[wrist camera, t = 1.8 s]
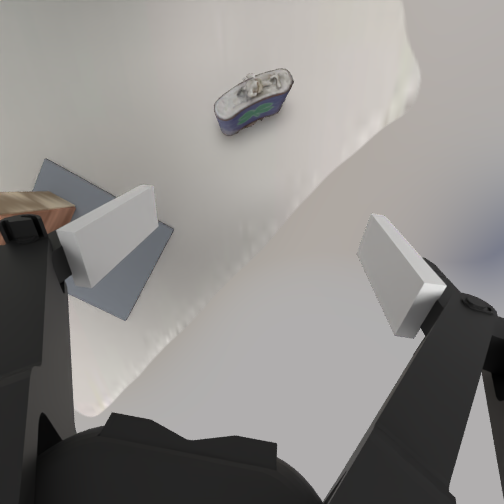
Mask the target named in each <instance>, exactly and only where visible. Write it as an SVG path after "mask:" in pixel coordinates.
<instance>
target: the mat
mask: <svg viewBox="0 0 504 504" xmlns="http://www.w3.org/2000/svg"><path fill="white" fill-rule="evenodd" d="M36 191H49V192H51V193H53V194H55V195H57V196H59V197H61V198H63V199H64V200H66V201H68V202H70V203H72V204H74V205H75V207H76V209H75V211H74V214H73V216H72V218H71V221H73V220H75V219H77V218H79V217H81V216H83V215H85V214H87V213H89V212H91V211H93V210H94V209H96V208H98V207H100V206H102V205H104V204H106V203H108V202H109V201H111V200H113V199H115V198H117V197H115V196H113V195H111V194H109V193H108V192H106V191H104V190H102V189H100V188H99V187H97V186H95V185H93V184H91V183H90V182H88V181H86V180H84V179H82V178H81V177H79V176H77V175H75V174H73V173H72V172H70V171H68V170H66V169H64V168H63V167H61V166H59V165H57V164H55V163H54V162H52V161H50V160H48V159H44V162H43V165H42V167H41V170H40V173H39V175H38V178H37V181H36V183H35V186H34V189H33V191H32V192H36ZM71 221H70V222H71ZM173 230H174V229H173V228H171V227H169V226H167V225H165V224H164V223H162V222H160V221H158V227H157V228H156V229H155V230H154V231H153V232H152V233H151V234H150V235H149V236H148V237H146V238H145V239H144V240H143V241H142V242H141V243H140V244H139V245H138V246H137V247H136V248H135V249H134V250H132V251H131V252H130V253H129V254H128V255H127V256H126V257H125V258H124V259H123V260H122V261H121V262H120V263H118V264H117V265H116V266H115V267H114V268H113V269H112V270H111V271H110V272H109V273H108V274H107V275H106V276H104V277H103V278H102V279H101V280H100V281H99V282H98V283H97V284H96V285H95V286H94V287H93V288H87V287H80V286H75V283H74V280H73V277H72V275H71V276H69V277H68V278H67V279H66V280H65V282H66V285H67V290H68V294H70V295H72V296H74V297H76V298H78V299H80V300H82V301H84V302H87V303H89V304H91V305H93V306H95V307H97V308H99V309H101V310H103V311H105V312H108V313H110V314H112V315H114V316H116V317H118V318H120V319H122V320H124V321H126V320H127V318H128V316H129V314H130V312H131V310H132V308H133V307H134V305H135V303H136V301H137V299H138V297H139V295H140V293H141V291H142V289H143V287H144V286H145V284H146V282H147V280H148V278H149V276H150V274H151V272H152V270H153V268H154V267H155V265H156V263H157V261H158V259H159V257H160V255H161V253H162V251H163V249H164V248H165V246H166V244H167V242H168V240H169V238H170V236H171V234H172V232H173Z"/></svg>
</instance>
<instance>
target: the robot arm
mask: <svg viewBox="0 0 504 504" xmlns="http://www.w3.org/2000/svg"><path fill="white" fill-rule="evenodd" d="M157 227H158V218H157V209H156V200H155V192H154V186H152V185H144V184H141V185H139V186H137V187H136V188H134V189H132V190H130V191H128V192H126V193H124V194H123V195H121V196H119V197H117V198H115V199H113V200H111V201H109V202H108V203H106V204H104V205H102V206H100V207H98V208H96V209H94V210H93V211H91V212H89V213H87V214H85V215H83V216H81V217H79V218H77V219H75V220H73V221H71V222H69V223H67V224H66V225H64V226H62V227H60V228H58V229H56V230H54V231H52V232H50V233H49V234H47V231H46V229H45V226H44V223H43V221H42V218H41V216H39V215H35V214H21V215H15V216H11V217H7V218H4V219H2V220H0V232H1V235H2V237H3V239H4V241H5V243H6V244H5V245H0V504H456V499H455V497H454V496H453V495H452V494H451V493H450V492H449V484H450V480H451V477H452V473H453V470H454V466H455V463H456V459H457V456H458V452H459V449H460V445H461V441H462V438H463V435H464V431H465V428H466V424H467V420H468V417H469V413H470V410H471V406H472V403H473V400H474V396H475V393H476V389H477V386H478V382H479V379H480V375H481V372H482V376H483V382H484V388H485V393H486V399H487V405H488V411H489V416H490V422H491V428H492V434H493V440H494V445H495V451H496V457H497V463H498V468H499V474H500V480H501V486H502V491H503V497H504V318H501V317H498V316H497V312H496V311H495V309H494V308H493V307H492V306H491V305H489V304H488V303H486V302H485V301H483V300H481V299H479V298H477V297H475V296H472V295H469V294H465V293H461V292H460V291H459V290H458V289H457V288H456V287H455V286H454V285H453V284H452V283H451V281H450V280H449V279H448V278H446V276H445V275H444V274H443V273H442V272H441V271H440V270H439V269H438V267H437V266H436V265H435V264H433V263H432V262H430V261H429V260H427V259H426V258H422V257H421V256H420V255H419V254H418V253H417V251H416V250H415V249H414V248H413V247H412V246H411V245H410V244H409V243H408V241H407V240H406V239H405V238H404V237H403V236H402V234H401V233H400V232H399V231H398V230H397V229H396V228H395V227H394V225H393V224H392V223H391V222H390V221H389V220H388V219H387V217H386V216H385V215H379V214H371V215H370V218H369V220H368V223H367V226H366V229H365V232H364V235H363V237H362V240H361V243H360V246H359V249H358V251H357V256H358V258H359V260H360V262H361V264H362V266H363V268H364V271H365V273H366V275H367V277H368V279H369V281H370V284H371V286H372V288H373V290H374V292H375V294H376V296H377V298H378V301H379V303H380V305H381V307H382V309H383V312H384V314H385V316H386V318H387V320H388V322H389V324H390V327H391V329H392V331H393V333H394V335H395V336H400V337H406V338H413V339H414V337H415V336H416V334H417V332H418V331H419V330H420V328H421V329H422V331H423V333H424V334H425V338H424V339H423V341H422V342H421V344H420V345H419V347H418V348H417V350H416V351H415V353H414V354H413V357H412V358H411V360H410V362H409V363H408V365H407V367H406V368H405V370H404V371H403V373H402V375H401V376H400V378H399V380H398V381H397V383H396V384H395V386H394V388H393V389H392V391H391V393H390V394H389V396H388V398H387V399H386V401H385V403H384V404H383V406H382V407H381V409H380V411H379V412H378V414H377V416H376V417H375V419H374V420H373V422H372V424H371V426H370V427H369V429H368V430H367V432H366V433H365V435H364V437H363V438H362V440H361V442H360V443H359V445H358V447H357V448H356V450H355V452H354V453H353V455H352V456H351V458H350V460H349V461H348V463H347V464H346V466H345V468H344V469H343V471H342V473H341V474H340V476H339V477H338V479H337V481H336V482H335V484H334V485H333V487H332V488H331V490H330V492H329V493H328V495H327V496H326V498H325V499H324V501H323V502H322V501H321V499H320V497H319V496H318V495H317V493H316V492H315V491H314V489H313V488H312V486H311V485H310V484H309V483H308V482H307V481H306V480H305V478H304V477H303V476H302V475H301V474H300V473H298V472H297V471H296V470H295V469H294V468H293V467H291V466H290V465H289V464H287V463H286V462H284V461H283V460H281V459H279V458H277V443H272V442H267V441H262V440H256V439H251V438H246V437H240V436H227V437H219V438H210V439H201V440H187V439H185V438H183V437H181V436H179V435H178V434H176V433H174V432H172V431H170V430H168V429H167V428H165V427H163V426H161V425H160V424H158V423H156V422H154V421H152V420H150V419H145V418H139V417H134V416H128V415H123V414H118V413H111V415H110V417H109V419H108V420H107V422H106V424H105V426H100V427H96V428H92V429H88V430H86V431H83V432H80V433H76V430H75V423H74V406H73V387H72V368H71V348H70V329H69V309H68V290H67V285H66V282H65V280H66V279H67V278H68V277H69V276H71V275H72V277H73V280H74V283H75V286H80V287H87V288H93V287H94V286H95V285H96V284H97V283H98V282H99V281H100V280H101V279H102V278H103V277H104V276H106V275H107V274H108V273H109V272H110V271H111V270H112V269H113V268H114V267H115V266H116V265H117V264H118V263H120V262H121V261H122V260H123V259H124V258H125V257H126V256H127V255H128V254H129V253H130V252H131V251H132V250H134V249H135V248H136V247H137V246H138V245H139V244H140V243H141V242H142V241H143V240H144V239H145V238H146V237H148V236H149V235H150V234H151V233H152V232H153V231H154V230H155V229H156V228H157Z"/></svg>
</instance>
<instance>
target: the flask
mask: <svg viewBox="0 0 504 504" xmlns="http://www.w3.org/2000/svg"><path fill="white" fill-rule="evenodd" d="M246 77H247V78H248V79H247V80H245V78H243V82H242V83H240V84H238V85H237V86H235V87H234V88H232V89H231V90H229V91H228V92H226V93H225V94H224V95H222V96H221V97H220V98H219V99H218V100H217V101H216V103H215V105H214V112H215V115H216V117H217V120H218V122H219V125H220V128H221V131H222V132H223V133H224V134H225V135H228V136H230V135H233V134H237V133H238V131H240V130H241V129H243V128H248V127H251V126H252V125H254V123H255V122H256V121H257V120H261V121H262V119H263V118H264V117H269V116H272V115H274V114H277V113H278V112H279V110H280V108H281V106H282V104H283V102H284V101H285V98H286V96H287V94H288V93H289V91H290V89H291V87H292V84H293V83H294V81H293V78H292V75H291V74H290V72H289V71H288V70H286V69H276V70H272V71H268V72H265V73H261V74H259V75H255V74H252V73H251V74H247V76H246Z"/></svg>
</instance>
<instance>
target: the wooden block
mask: <svg viewBox="0 0 504 504" xmlns="http://www.w3.org/2000/svg"><path fill="white" fill-rule="evenodd" d="M75 209H76V207H75V205H74V204H72V203H70V202H68V201H66V200H64V199H63V198H61V197H59V196H57V195H55V194H53V193H51V192H49V191H36V192H0V220H2V219H4V218H7V217H11V216H15V215H21V214H35V215H39V216H41V218H42V221H43V223H44V226H45V229H46V231H47V234H49V233H50V232H52V231H54V230H56V229H58V228H60V227H62V226H64V225H66V224H67V223H69V222H70V221H71V218H72V216H73V214H74V211H75ZM5 244H6V243H5V241H4V239H3V237H2V235H1V232H0V245H5Z"/></svg>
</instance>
